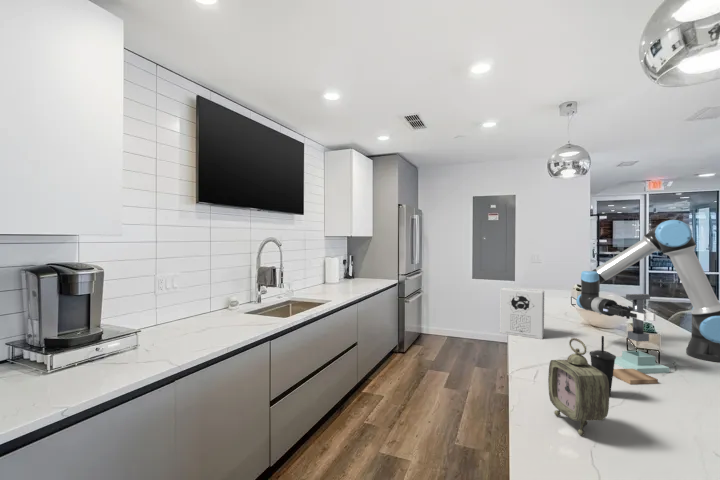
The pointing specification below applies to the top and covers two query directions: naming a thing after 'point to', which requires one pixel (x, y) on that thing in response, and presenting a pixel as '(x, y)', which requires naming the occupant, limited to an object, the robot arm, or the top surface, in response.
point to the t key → (637, 324)
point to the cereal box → (522, 312)
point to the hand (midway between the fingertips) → (649, 317)
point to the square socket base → (640, 362)
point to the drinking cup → (603, 362)
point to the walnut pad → (633, 376)
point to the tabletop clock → (578, 388)
